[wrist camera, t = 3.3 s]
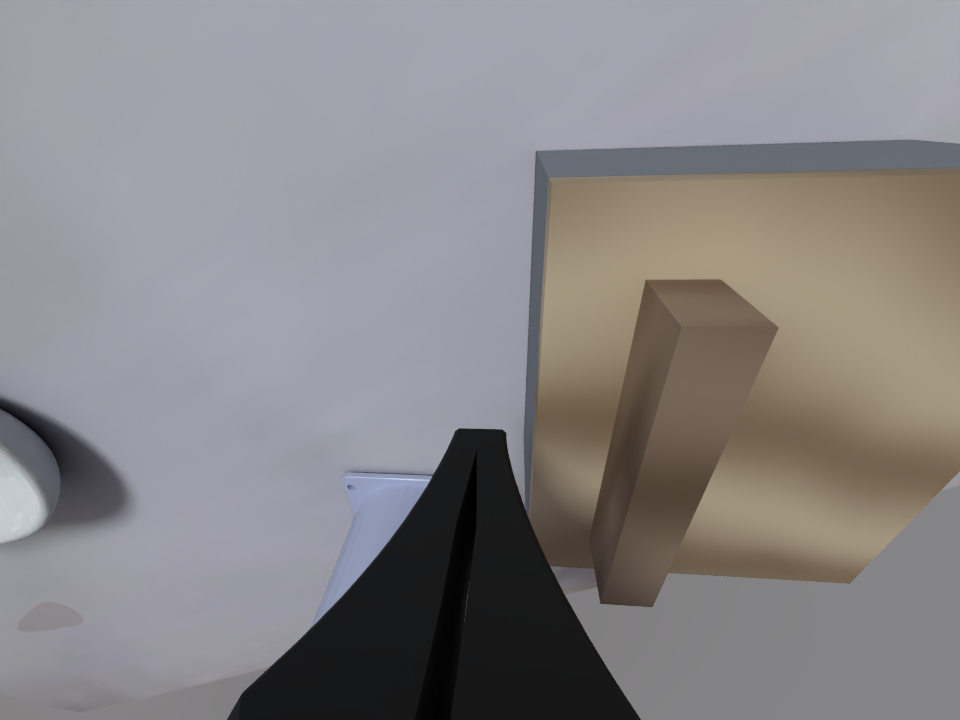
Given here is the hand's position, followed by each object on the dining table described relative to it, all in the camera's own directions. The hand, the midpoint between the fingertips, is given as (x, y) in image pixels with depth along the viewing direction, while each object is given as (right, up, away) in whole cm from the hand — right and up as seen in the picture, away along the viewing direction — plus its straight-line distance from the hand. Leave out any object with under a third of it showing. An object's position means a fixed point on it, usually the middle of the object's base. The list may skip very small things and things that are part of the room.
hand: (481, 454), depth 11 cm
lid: (+8, +1, +1) cm, 8 cm away
